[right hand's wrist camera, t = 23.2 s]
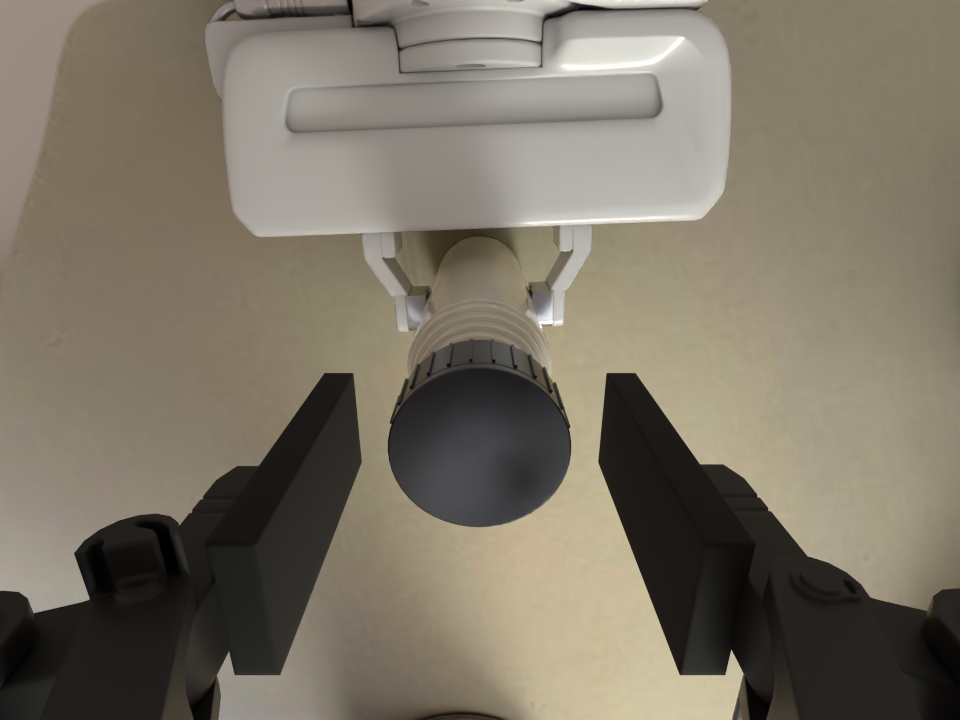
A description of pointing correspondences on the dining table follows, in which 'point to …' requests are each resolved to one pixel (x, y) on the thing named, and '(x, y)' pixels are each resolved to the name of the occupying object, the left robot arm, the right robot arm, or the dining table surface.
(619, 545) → the dining table surface
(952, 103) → the dining table surface
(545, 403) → the cap
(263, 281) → the dining table surface
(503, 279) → the bottle
